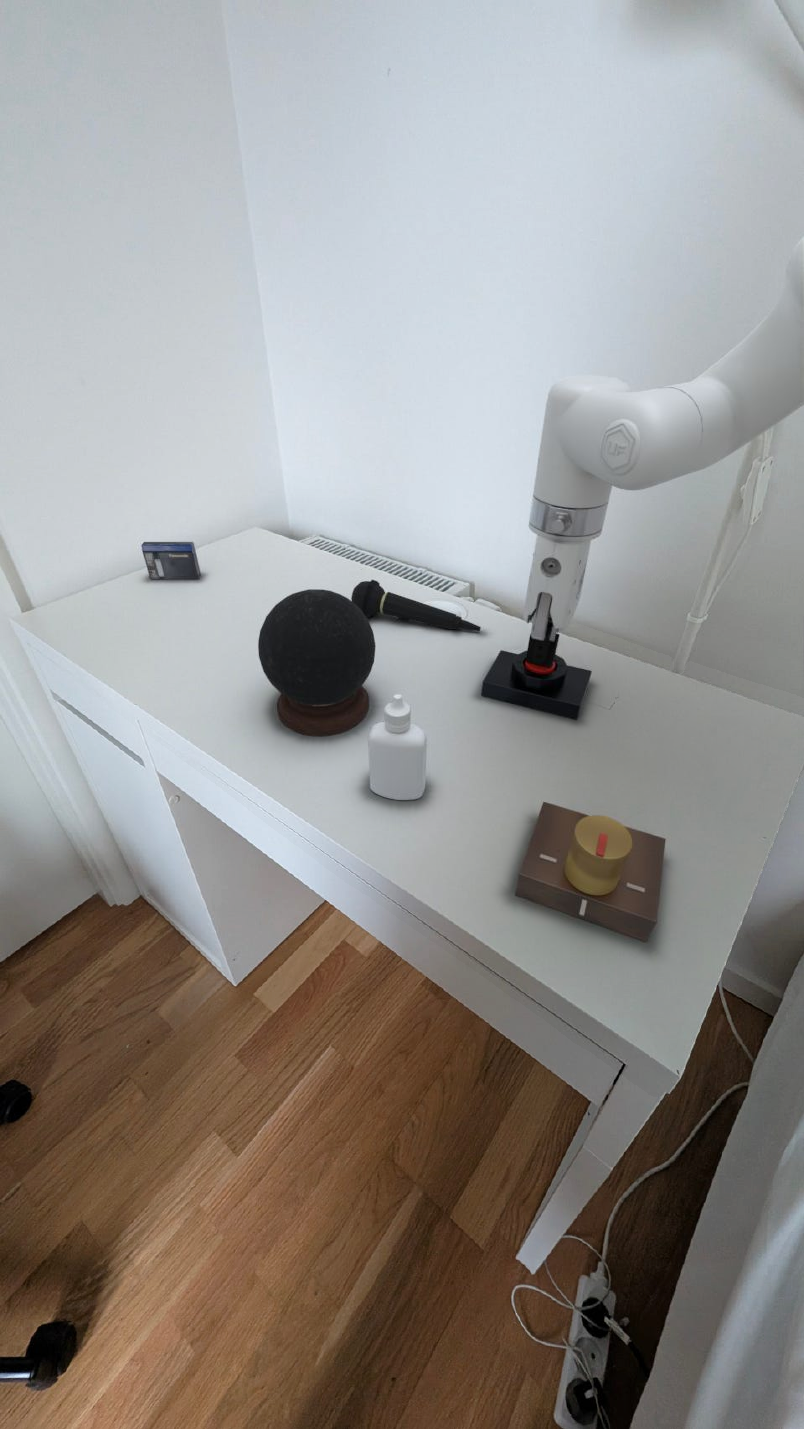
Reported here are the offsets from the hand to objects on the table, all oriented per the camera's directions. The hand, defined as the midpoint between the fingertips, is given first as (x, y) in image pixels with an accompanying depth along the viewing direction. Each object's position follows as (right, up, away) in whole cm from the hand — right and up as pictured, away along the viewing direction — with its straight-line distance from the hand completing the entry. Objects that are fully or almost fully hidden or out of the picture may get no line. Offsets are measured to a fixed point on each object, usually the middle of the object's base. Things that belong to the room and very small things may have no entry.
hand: (539, 662), depth 71 cm
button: (0, -1, +1) cm, 2 cm away
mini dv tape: (-56, +17, +28) cm, 64 cm away
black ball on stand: (-27, -6, 0) cm, 27 cm away
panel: (0, -21, -19) cm, 29 cm away
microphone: (-15, +7, +16) cm, 23 cm away
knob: (-1, -20, -23) cm, 30 cm away
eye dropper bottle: (-17, -14, -11) cm, 25 cm away
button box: (0, -3, +3) cm, 4 cm away
